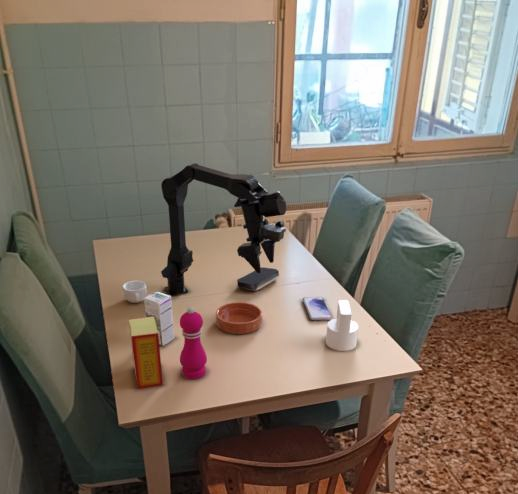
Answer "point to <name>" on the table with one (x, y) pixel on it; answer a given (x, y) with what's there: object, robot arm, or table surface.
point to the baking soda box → (146, 352)
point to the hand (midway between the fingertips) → (265, 267)
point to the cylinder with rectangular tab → (342, 329)
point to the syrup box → (161, 315)
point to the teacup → (135, 291)
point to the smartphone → (317, 308)
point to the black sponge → (258, 279)
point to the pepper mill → (192, 345)
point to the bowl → (239, 317)
